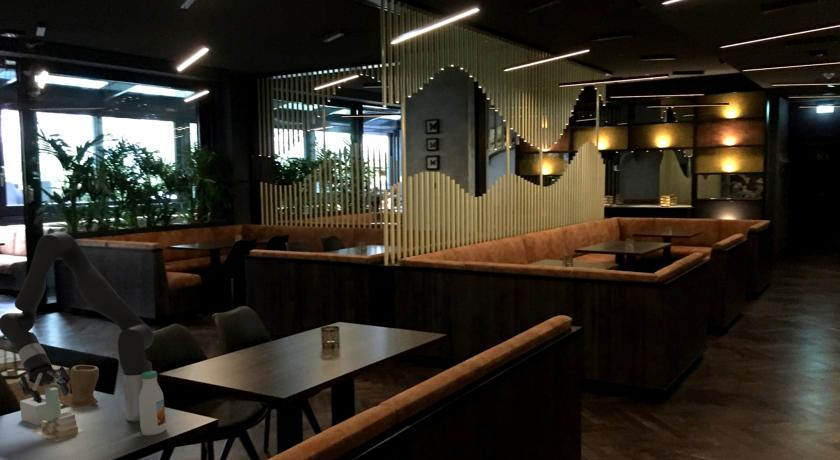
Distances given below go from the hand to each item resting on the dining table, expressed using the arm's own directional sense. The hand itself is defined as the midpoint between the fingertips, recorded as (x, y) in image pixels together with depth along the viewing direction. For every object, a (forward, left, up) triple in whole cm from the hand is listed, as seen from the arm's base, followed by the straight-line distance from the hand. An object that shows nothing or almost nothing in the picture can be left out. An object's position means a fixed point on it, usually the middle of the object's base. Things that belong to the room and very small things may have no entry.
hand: (53, 398), depth 220 cm
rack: (-1, +1, -12) cm, 12 cm away
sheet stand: (+11, -13, -12) cm, 21 cm away
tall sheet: (+1, -1, -11) cm, 11 cm away
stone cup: (+5, -31, -13) cm, 34 cm away
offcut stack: (-5, +4, -11) cm, 12 cm away
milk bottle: (-33, +4, -13) cm, 35 cm away
